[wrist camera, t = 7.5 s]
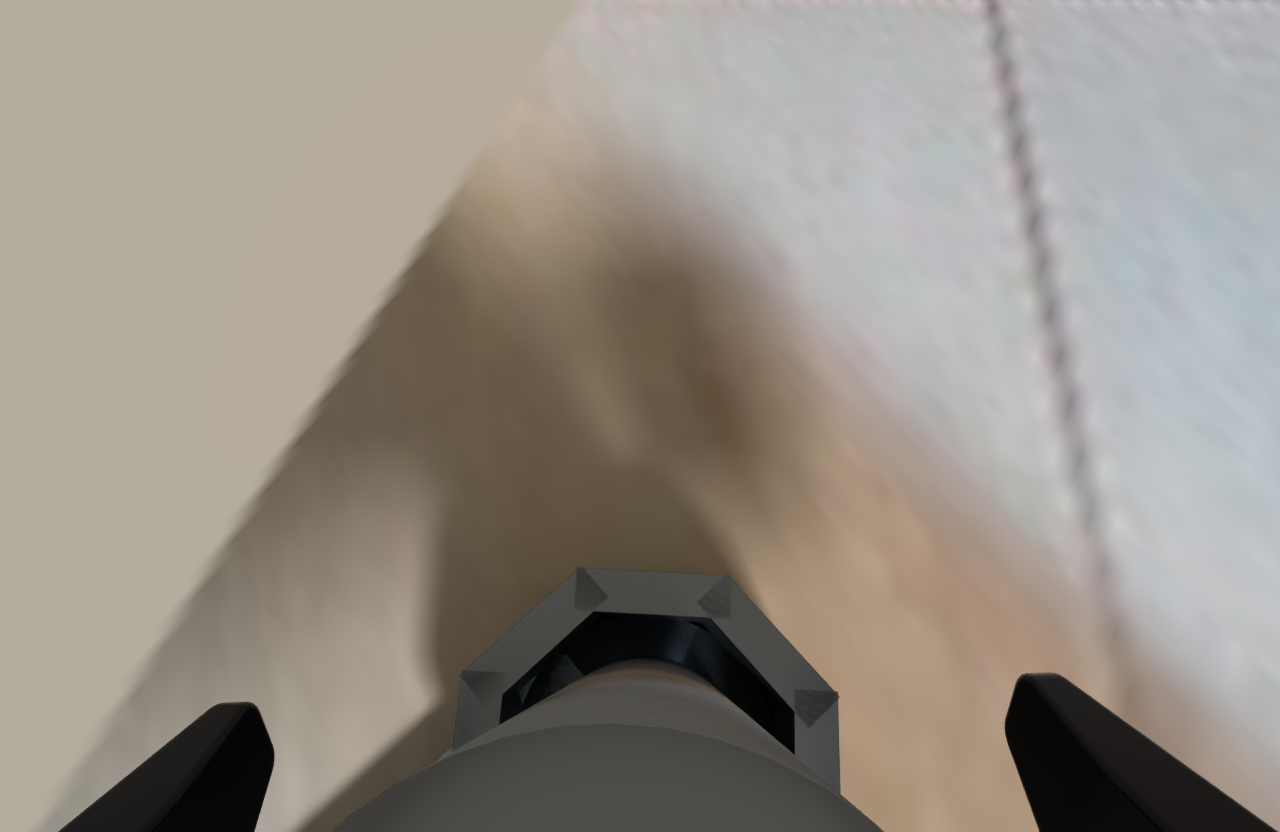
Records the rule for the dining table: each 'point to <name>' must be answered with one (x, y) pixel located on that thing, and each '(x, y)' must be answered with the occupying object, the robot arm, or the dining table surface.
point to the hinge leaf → (659, 626)
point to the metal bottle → (618, 767)
